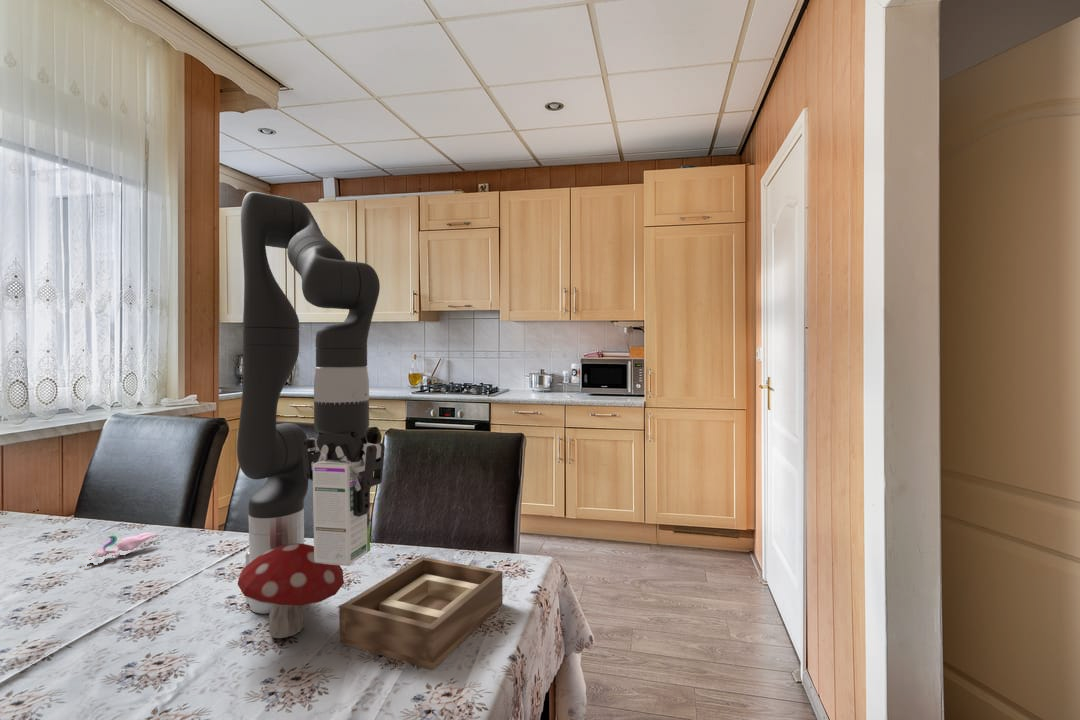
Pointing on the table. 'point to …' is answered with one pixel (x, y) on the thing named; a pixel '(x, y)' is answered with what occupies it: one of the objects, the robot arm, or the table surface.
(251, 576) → the decorative mushroom
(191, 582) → the table surface
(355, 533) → the syrup box
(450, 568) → the crate
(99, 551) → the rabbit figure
